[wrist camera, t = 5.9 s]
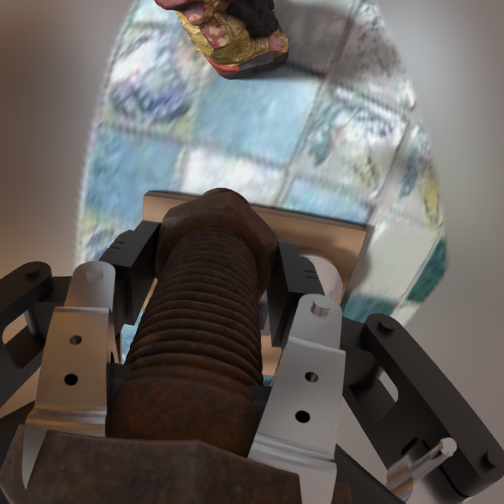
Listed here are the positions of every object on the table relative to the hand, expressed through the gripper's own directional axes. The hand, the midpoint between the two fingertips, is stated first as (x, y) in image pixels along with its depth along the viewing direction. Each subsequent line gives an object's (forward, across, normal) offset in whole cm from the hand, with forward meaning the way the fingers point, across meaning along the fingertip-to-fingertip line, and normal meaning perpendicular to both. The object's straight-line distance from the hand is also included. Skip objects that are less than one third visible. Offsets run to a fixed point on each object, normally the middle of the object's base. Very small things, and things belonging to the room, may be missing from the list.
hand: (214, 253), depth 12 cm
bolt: (+5, 0, 0) cm, 5 cm away
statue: (+22, +2, -14) cm, 26 cm away
